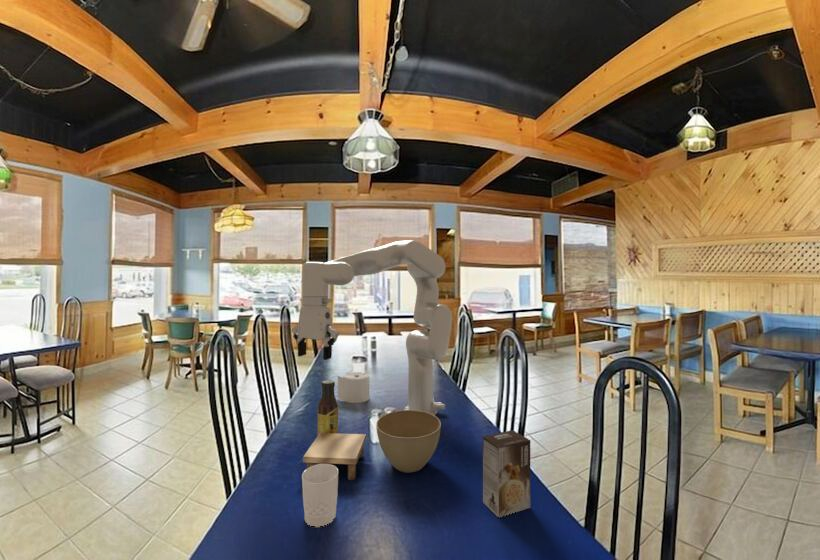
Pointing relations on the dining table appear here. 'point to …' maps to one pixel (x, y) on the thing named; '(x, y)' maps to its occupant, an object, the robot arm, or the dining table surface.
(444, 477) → the dining table surface
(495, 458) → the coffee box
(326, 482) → the white cup
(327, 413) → the sauce bottle
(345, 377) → the toilet tissue
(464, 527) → the dining table surface
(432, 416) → the tan bowl
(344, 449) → the footstool
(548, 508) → the dining table surface
